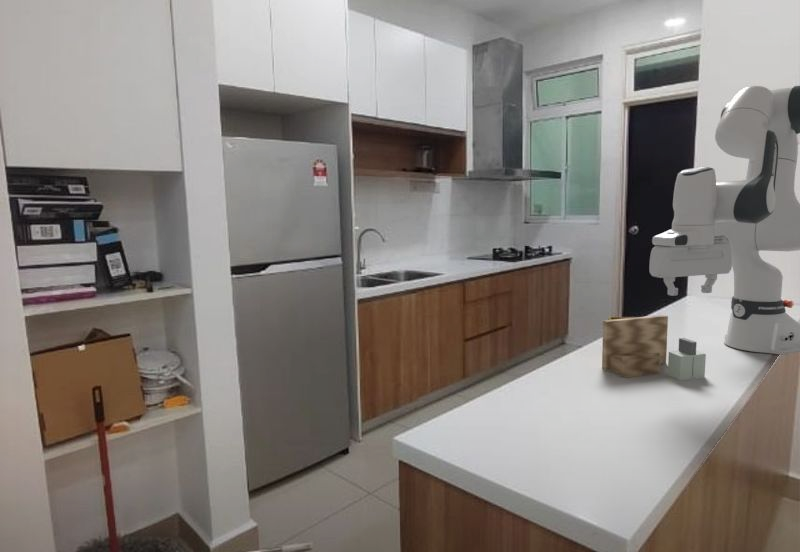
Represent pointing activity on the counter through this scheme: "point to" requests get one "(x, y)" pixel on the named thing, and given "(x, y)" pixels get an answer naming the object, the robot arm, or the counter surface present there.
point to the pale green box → (686, 361)
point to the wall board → (634, 345)
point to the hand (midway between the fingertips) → (689, 293)
